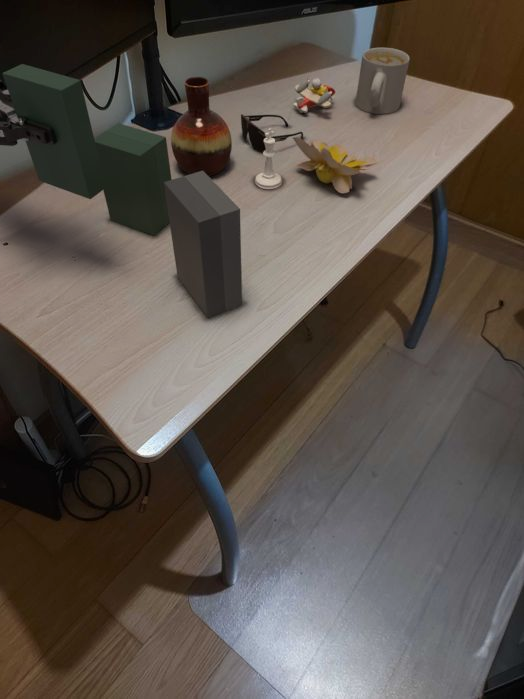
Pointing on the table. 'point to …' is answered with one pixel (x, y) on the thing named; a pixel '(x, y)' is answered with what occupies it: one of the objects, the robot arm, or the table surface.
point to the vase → (200, 133)
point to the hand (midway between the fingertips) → (64, 129)
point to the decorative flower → (332, 163)
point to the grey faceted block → (205, 241)
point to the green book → (58, 129)
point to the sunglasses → (260, 131)
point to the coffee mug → (382, 80)
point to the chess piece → (268, 166)
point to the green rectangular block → (135, 177)
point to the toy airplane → (313, 95)
